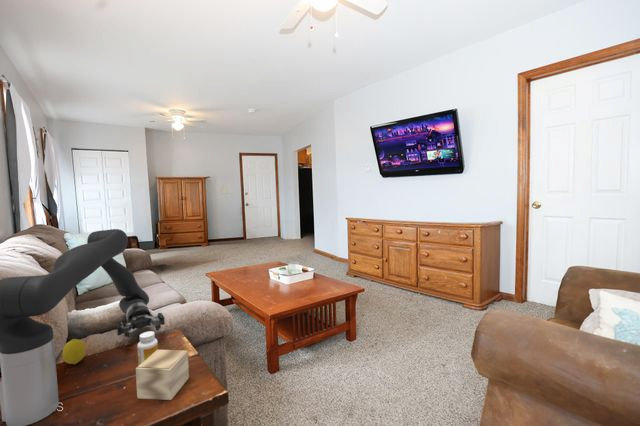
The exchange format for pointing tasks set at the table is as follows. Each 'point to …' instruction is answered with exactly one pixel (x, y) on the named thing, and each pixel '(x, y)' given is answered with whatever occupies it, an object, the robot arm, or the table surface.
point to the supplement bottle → (146, 346)
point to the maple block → (162, 374)
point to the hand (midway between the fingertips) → (143, 331)
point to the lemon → (73, 351)
